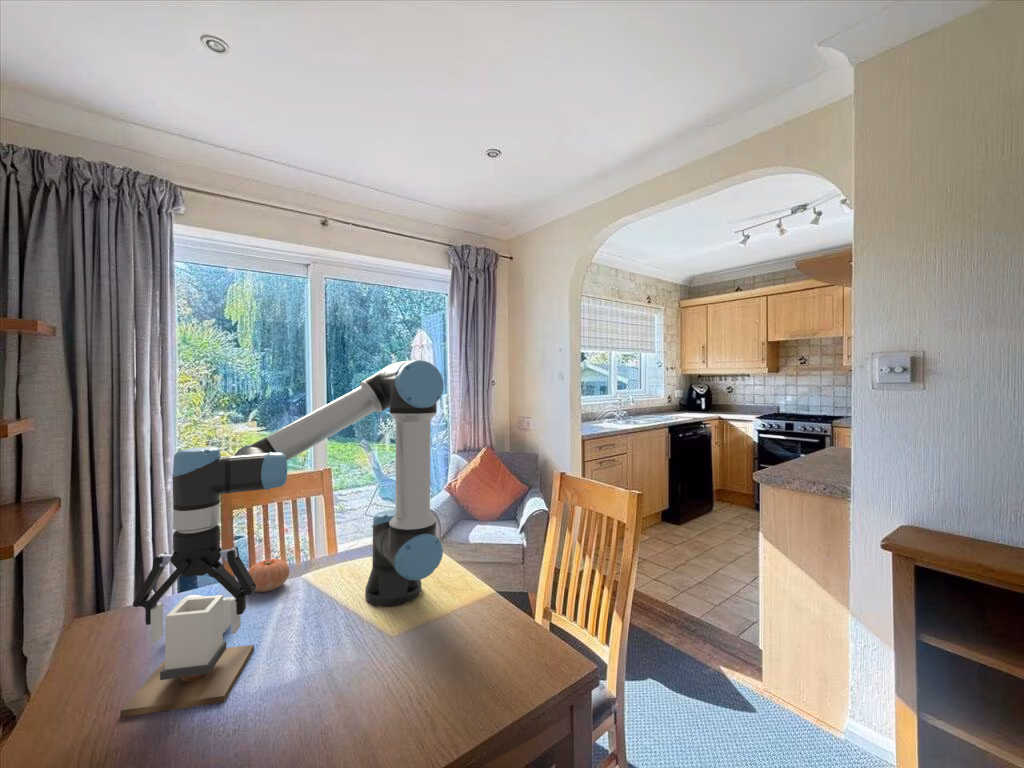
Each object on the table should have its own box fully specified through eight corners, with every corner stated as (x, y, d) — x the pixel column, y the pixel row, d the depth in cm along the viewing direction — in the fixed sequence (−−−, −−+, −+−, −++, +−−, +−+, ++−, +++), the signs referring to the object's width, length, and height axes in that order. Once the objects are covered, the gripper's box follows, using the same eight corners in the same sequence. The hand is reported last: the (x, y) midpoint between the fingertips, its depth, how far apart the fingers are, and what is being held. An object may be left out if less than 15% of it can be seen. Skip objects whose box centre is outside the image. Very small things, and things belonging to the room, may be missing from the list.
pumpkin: (238, 591, 122) (238, 562, 122) (276, 576, 131) (276, 550, 131) (258, 601, 116) (259, 571, 116) (297, 585, 125) (297, 558, 125)
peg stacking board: (254, 650, 95) (254, 594, 95) (223, 702, 79) (224, 635, 79) (169, 660, 91) (170, 602, 91) (120, 717, 75) (121, 647, 75)
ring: (226, 648, 90) (226, 641, 90) (209, 673, 82) (209, 665, 82) (181, 654, 88) (181, 646, 88) (160, 680, 80) (160, 672, 80)
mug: (205, 645, 96) (206, 609, 96) (169, 639, 98) (169, 604, 98) (248, 617, 108) (249, 585, 108) (215, 612, 110) (215, 581, 110)
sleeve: (222, 643, 89) (223, 594, 89) (207, 664, 82) (208, 612, 82) (183, 647, 87) (184, 598, 88) (164, 669, 81) (165, 616, 81)
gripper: (272, 516, 92) (272, 616, 92) (134, 525, 86) (134, 632, 86) (261, 528, 84) (261, 636, 84) (108, 539, 78) (108, 655, 78)
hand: (197, 634), depth 85 cm, fingers open, 13 cm apart
